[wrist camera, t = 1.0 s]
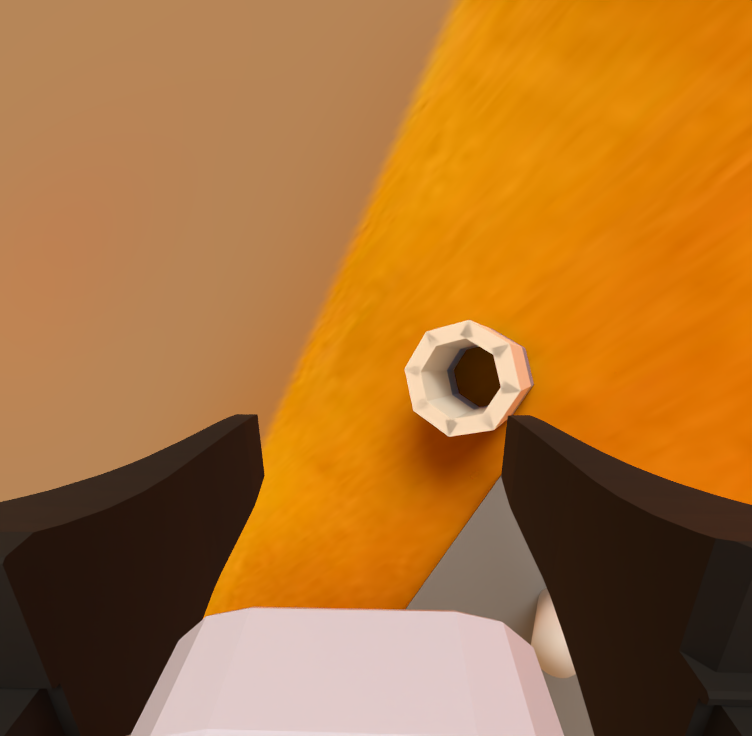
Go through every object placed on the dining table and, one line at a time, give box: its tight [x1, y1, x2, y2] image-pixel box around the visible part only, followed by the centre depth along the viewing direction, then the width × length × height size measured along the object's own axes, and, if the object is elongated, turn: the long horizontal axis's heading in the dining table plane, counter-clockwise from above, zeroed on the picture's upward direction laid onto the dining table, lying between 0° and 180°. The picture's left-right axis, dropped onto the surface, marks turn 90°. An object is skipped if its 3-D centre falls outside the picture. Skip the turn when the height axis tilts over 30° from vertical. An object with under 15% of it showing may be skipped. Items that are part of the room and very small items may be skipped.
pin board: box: [405, 476, 594, 736], centre depth 22 cm, size 12×20×6 cm, turn 147°
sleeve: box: [405, 320, 534, 437], centre depth 22 cm, size 5×5×6 cm
